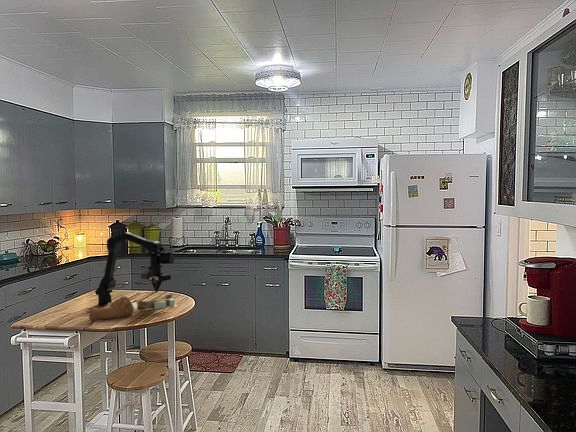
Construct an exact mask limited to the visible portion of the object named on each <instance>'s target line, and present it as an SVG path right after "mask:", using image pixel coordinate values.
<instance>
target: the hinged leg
mask: <svg viewBox="0 0 576 432" xmlns="http://www.w3.org/2000/svg"><path fill="white" fill-rule="evenodd" d="M160 301H166V305H169V300H168V299H166V298H163V299H162V298H161V299H155V300H154V299H153V300H145V301H143V300H140V301H136V302H137V308H138V309H143V308H150V307H154V302H160Z"/></svg>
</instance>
